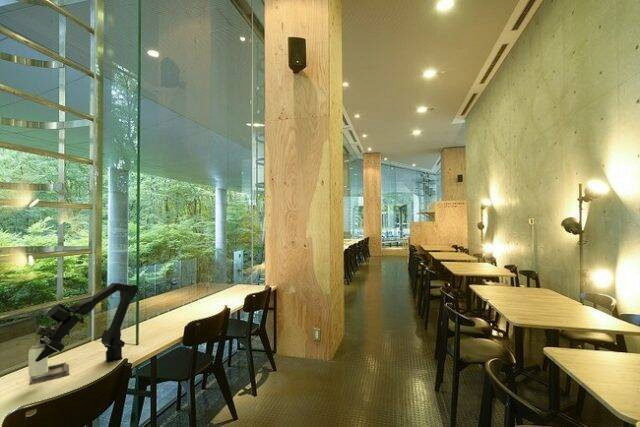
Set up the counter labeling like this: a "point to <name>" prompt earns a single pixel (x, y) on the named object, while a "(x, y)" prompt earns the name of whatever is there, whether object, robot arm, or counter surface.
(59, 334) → the robot arm
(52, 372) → the holder
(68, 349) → the counter surface
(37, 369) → the can
